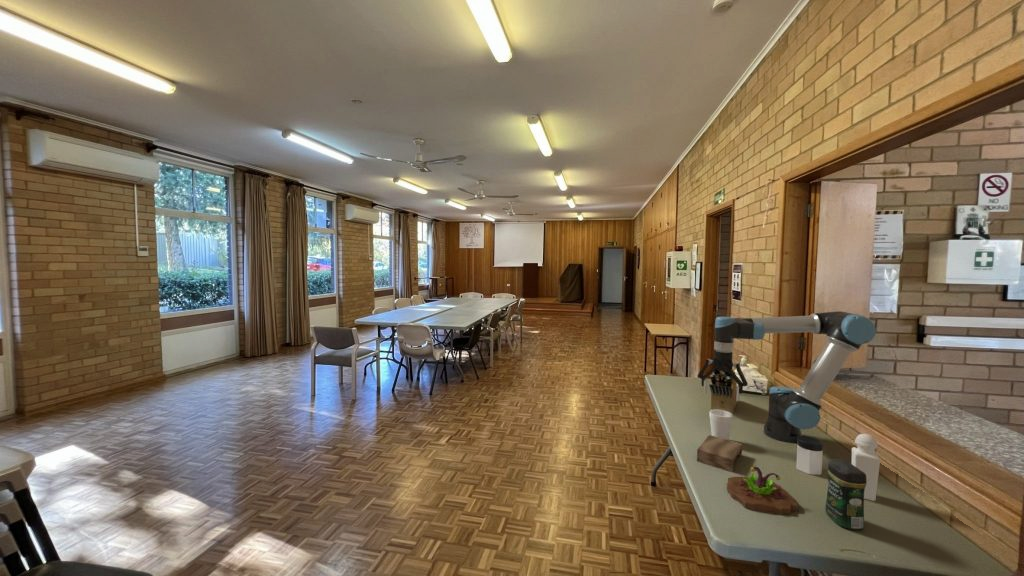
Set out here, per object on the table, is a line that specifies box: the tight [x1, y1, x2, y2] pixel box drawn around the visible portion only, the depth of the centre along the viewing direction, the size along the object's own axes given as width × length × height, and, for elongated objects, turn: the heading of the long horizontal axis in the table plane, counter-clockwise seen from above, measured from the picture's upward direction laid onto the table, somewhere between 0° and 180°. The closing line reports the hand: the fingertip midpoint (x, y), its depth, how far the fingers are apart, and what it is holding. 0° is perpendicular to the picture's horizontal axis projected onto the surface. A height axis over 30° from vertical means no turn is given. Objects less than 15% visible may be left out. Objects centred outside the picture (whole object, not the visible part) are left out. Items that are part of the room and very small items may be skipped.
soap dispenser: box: [851, 433, 881, 502], centre depth 138 cm, size 6×6×22 cm
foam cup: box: [708, 409, 734, 440], centre depth 181 cm, size 10×9×13 cm
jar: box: [795, 435, 824, 476], centre depth 156 cm, size 9×8×12 cm
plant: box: [726, 466, 799, 516], centre depth 138 cm, size 20×20×11 cm
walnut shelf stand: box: [696, 434, 743, 472], centre depth 165 cm, size 13×18×5 cm
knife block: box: [709, 363, 738, 414], centre depth 223 cm, size 11×35×31 cm, turn 145°
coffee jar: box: [824, 459, 867, 531], centre depth 124 cm, size 10×8×19 cm
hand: (721, 396), depth 180 cm, fingers open, 13 cm apart
